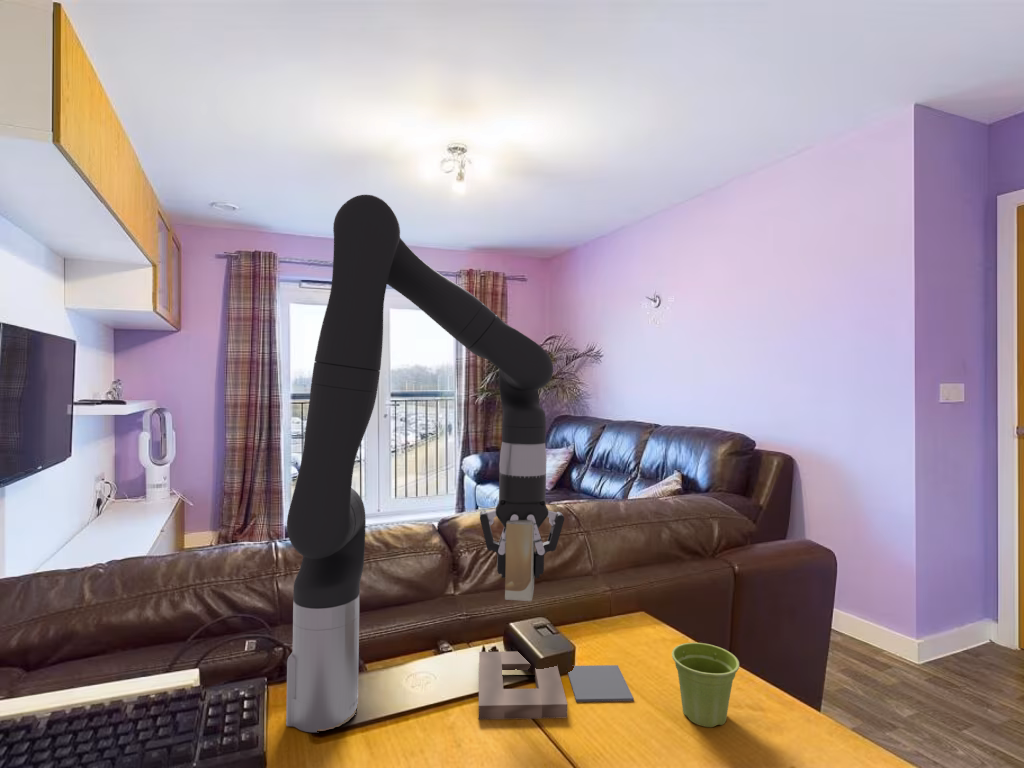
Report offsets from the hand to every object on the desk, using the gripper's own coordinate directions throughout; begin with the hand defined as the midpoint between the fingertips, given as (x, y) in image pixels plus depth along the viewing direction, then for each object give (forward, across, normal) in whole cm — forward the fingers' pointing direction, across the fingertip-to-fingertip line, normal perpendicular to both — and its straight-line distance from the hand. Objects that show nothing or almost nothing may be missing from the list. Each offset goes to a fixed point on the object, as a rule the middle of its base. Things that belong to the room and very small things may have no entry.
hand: (520, 575), depth 87 cm
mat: (+18, +13, +1) cm, 22 cm away
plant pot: (+18, +27, -8) cm, 34 cm away
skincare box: (+3, 0, 0) cm, 3 cm away
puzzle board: (+18, 0, 0) cm, 18 cm away
